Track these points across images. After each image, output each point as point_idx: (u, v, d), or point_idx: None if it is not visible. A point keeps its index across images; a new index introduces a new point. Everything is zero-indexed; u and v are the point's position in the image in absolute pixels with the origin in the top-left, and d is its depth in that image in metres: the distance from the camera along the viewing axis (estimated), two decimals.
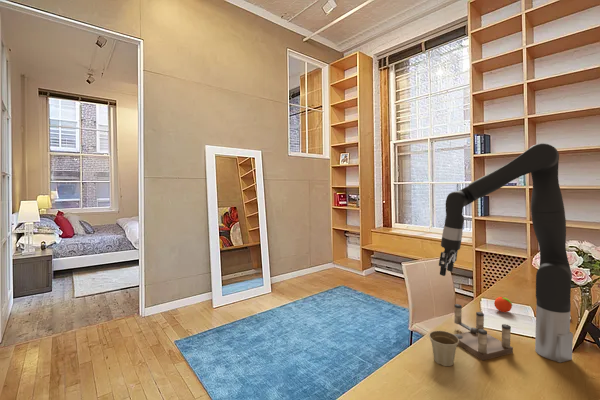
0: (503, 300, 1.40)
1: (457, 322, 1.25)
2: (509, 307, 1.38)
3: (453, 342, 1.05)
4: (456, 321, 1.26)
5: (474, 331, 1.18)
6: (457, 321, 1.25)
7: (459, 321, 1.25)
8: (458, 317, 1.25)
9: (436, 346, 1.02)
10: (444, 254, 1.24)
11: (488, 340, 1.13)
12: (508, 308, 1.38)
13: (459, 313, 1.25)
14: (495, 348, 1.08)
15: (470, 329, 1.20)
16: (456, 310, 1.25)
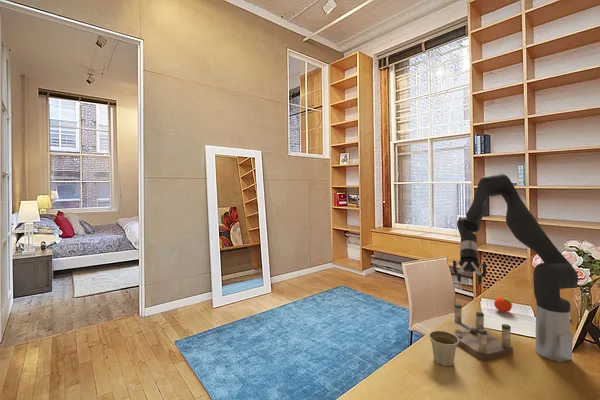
0: (503, 300, 1.40)
1: (457, 322, 1.25)
2: (509, 307, 1.38)
3: (453, 342, 1.05)
4: (456, 321, 1.26)
5: (474, 331, 1.18)
6: (457, 321, 1.25)
7: (459, 321, 1.25)
8: (458, 317, 1.25)
9: (436, 346, 1.02)
10: (453, 262, 1.45)
11: (488, 340, 1.13)
12: (508, 308, 1.38)
13: (459, 313, 1.25)
14: (495, 348, 1.08)
15: (470, 329, 1.20)
16: (456, 310, 1.25)
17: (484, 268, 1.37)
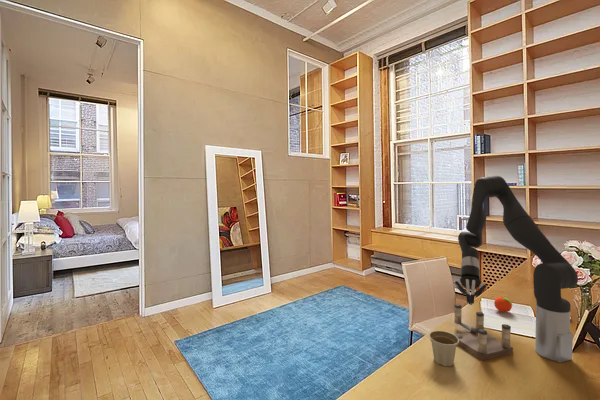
0: (503, 300, 1.39)
1: (457, 322, 1.25)
2: (509, 307, 1.38)
3: (453, 342, 1.05)
4: (456, 321, 1.26)
5: (474, 331, 1.18)
6: (457, 321, 1.25)
7: (459, 321, 1.25)
8: (458, 317, 1.25)
9: (436, 346, 1.02)
10: (455, 283, 1.38)
11: (488, 340, 1.13)
12: (508, 308, 1.38)
13: (459, 313, 1.25)
14: (495, 348, 1.08)
15: (470, 329, 1.20)
16: (456, 310, 1.25)
17: (481, 288, 1.31)
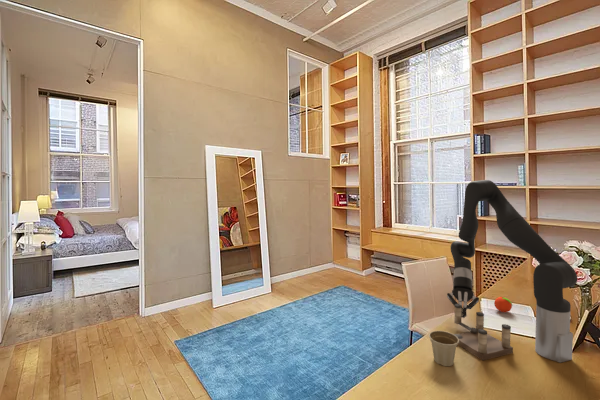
0: (503, 300, 1.39)
1: (457, 322, 1.25)
2: (509, 307, 1.38)
3: (453, 342, 1.05)
4: (456, 321, 1.26)
5: (474, 331, 1.18)
6: (457, 321, 1.25)
7: (459, 321, 1.25)
8: (458, 317, 1.25)
9: (436, 346, 1.02)
10: (447, 295, 1.34)
11: (488, 340, 1.13)
12: (508, 308, 1.38)
13: (459, 313, 1.25)
14: (495, 348, 1.08)
15: (470, 329, 1.20)
16: (456, 310, 1.25)
17: (473, 301, 1.28)
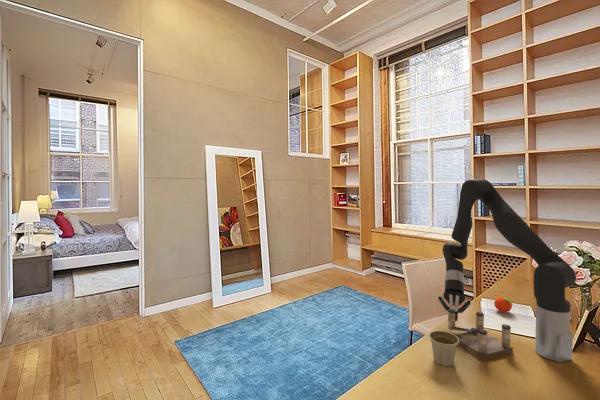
0: (503, 300, 1.39)
1: (453, 328, 1.21)
2: (509, 307, 1.38)
3: (453, 342, 1.05)
4: (452, 327, 1.21)
5: (476, 331, 1.18)
6: (453, 327, 1.21)
7: (454, 326, 1.21)
8: (454, 322, 1.21)
9: (436, 346, 1.02)
10: (438, 299, 1.30)
11: (488, 340, 1.13)
12: (508, 308, 1.38)
13: (454, 318, 1.21)
14: (495, 348, 1.08)
15: (471, 330, 1.19)
16: (452, 316, 1.20)
17: (465, 305, 1.24)
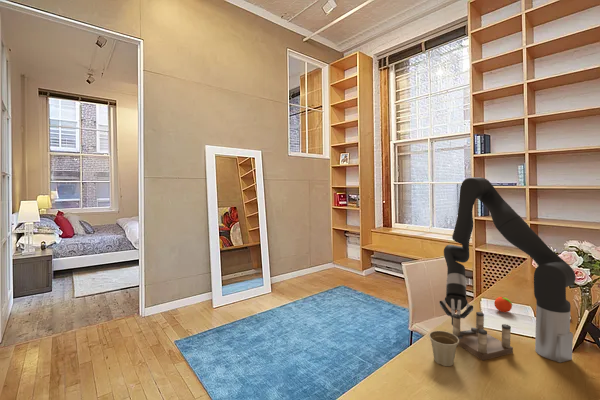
0: (503, 300, 1.39)
1: (460, 333, 1.16)
2: (509, 307, 1.38)
3: (453, 342, 1.05)
4: (459, 333, 1.16)
5: (476, 330, 1.18)
6: (460, 332, 1.16)
7: None
8: None
9: (436, 346, 1.02)
10: None
11: (488, 340, 1.13)
12: (508, 308, 1.38)
13: None
14: (495, 348, 1.08)
15: (472, 331, 1.18)
16: (459, 321, 1.16)
17: (467, 310, 1.20)
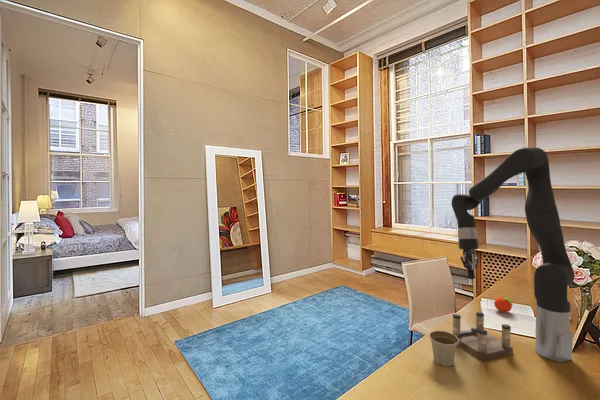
0: (503, 300, 1.39)
1: (460, 333, 1.16)
2: (509, 307, 1.38)
3: (453, 342, 1.05)
4: (459, 333, 1.16)
5: (476, 330, 1.18)
6: (460, 332, 1.16)
7: None
8: None
9: (436, 346, 1.02)
10: (464, 258, 1.27)
11: (488, 340, 1.13)
12: (508, 308, 1.38)
13: None
14: (495, 348, 1.08)
15: (472, 331, 1.18)
16: (459, 321, 1.16)
17: (477, 262, 1.32)
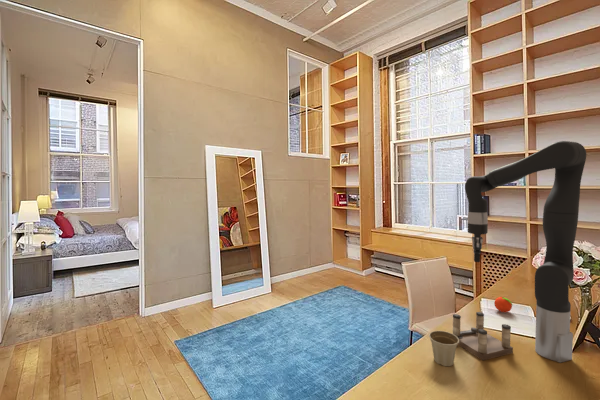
0: (503, 300, 1.39)
1: (460, 333, 1.16)
2: (509, 307, 1.38)
3: (453, 342, 1.05)
4: (459, 333, 1.16)
5: (476, 330, 1.18)
6: (460, 332, 1.16)
7: None
8: None
9: (436, 346, 1.02)
10: (478, 245, 1.25)
11: (488, 340, 1.13)
12: (508, 308, 1.38)
13: None
14: (495, 348, 1.08)
15: (472, 331, 1.18)
16: (459, 321, 1.16)
17: None
